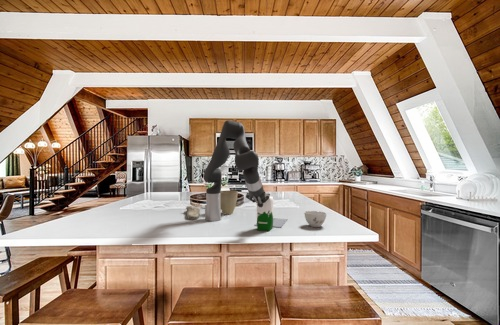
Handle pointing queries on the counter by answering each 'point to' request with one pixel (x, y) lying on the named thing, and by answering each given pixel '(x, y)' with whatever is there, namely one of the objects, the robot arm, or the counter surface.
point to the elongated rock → (193, 213)
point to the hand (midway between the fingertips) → (260, 206)
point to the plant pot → (228, 201)
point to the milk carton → (265, 215)
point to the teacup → (315, 218)
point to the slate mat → (277, 222)
